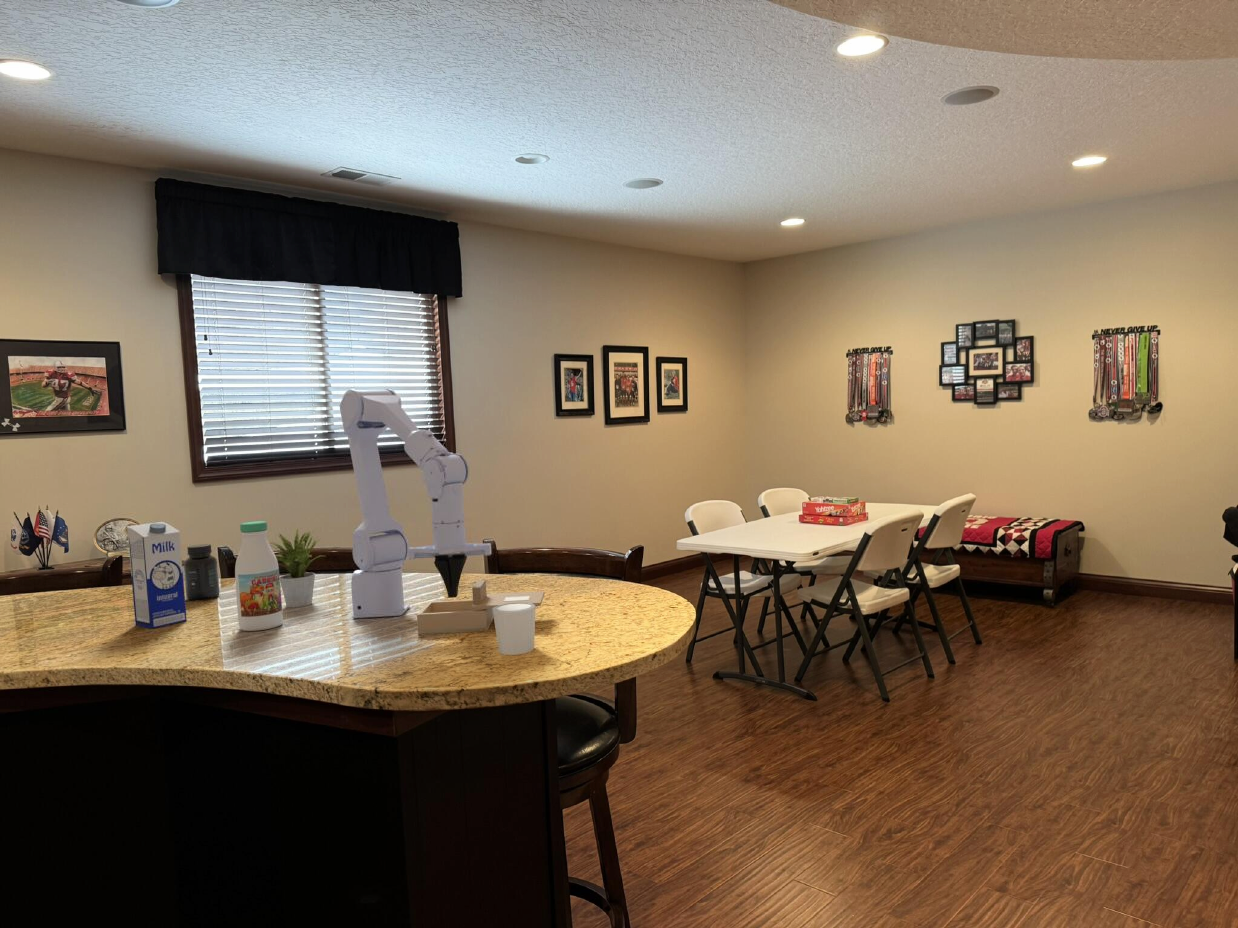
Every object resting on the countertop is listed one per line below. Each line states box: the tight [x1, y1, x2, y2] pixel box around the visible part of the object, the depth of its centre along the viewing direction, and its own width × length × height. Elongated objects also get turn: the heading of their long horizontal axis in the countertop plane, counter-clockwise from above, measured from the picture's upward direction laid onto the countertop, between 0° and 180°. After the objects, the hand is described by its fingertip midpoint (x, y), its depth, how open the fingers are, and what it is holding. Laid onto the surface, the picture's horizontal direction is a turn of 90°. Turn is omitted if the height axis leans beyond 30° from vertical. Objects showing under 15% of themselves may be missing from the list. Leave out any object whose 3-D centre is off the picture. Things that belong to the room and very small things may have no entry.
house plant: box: [268, 529, 328, 608], centre depth 178 cm, size 14×14×16 cm
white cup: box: [493, 603, 536, 656], centre depth 133 cm, size 7×7×7 cm
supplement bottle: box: [183, 543, 220, 602], centre depth 189 cm, size 7×7×12 cm
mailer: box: [416, 599, 494, 636], centre depth 151 cm, size 12×10×4 cm
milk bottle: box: [234, 520, 284, 632], centre depth 158 cm, size 8×8×20 cm
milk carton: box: [126, 521, 188, 630], centre depth 165 cm, size 7×7×20 cm
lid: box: [471, 579, 545, 610], centre depth 151 cm, size 12×10×4 cm
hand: (453, 596), depth 151 cm, fingers closed
